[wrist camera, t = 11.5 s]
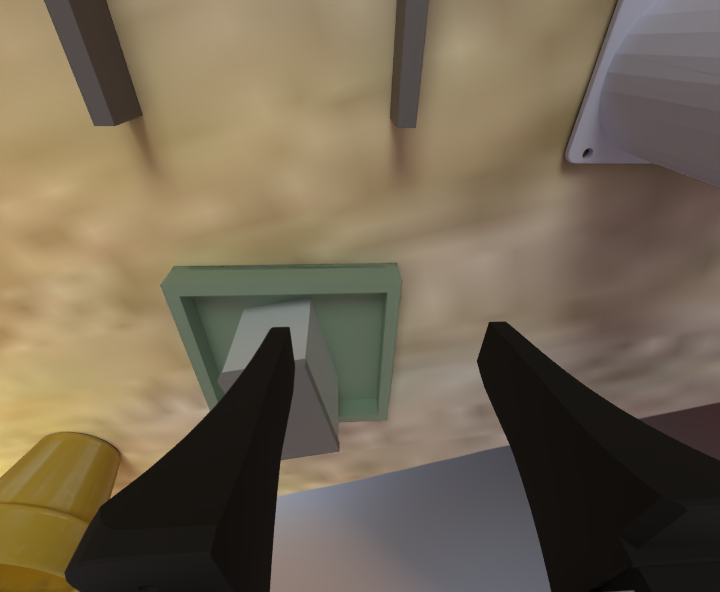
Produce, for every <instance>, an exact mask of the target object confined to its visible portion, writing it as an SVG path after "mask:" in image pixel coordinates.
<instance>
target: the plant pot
mask: <svg viewBox="0 0 720 592" xmlns="http://www.w3.org/2000/svg"><path fill="white" fill-rule="evenodd" d="M119 465H120V454H119V453H118V451H117V450H116V449H115V448H114V447H113V446H111V445H110V444H108V443H107V442H105V441H103V440H101V439H98V438H96V437H93V436H89V435H85V434H79V433H70V432H63V433H55V434H51V435H48V436H46V437H44V438H43V439H42V440H40V441H39V442H38V443H37V444H36V445H35V446H34V447H33V448H32V449H31V450H30V451H29V452H28V453H27V454H25V455H24V456H23V457H22V458H21V459H20V460H19V461H18V462H17V463H16V464H15V465H14V466H12V467H11V468H10V469H9V470H8V471H7V472H6V473H5V474H4V475H3V476H2V477H1V478H0V592H79V591H78V590H76V589H75V588H73V587H72V586H71V585H70V584H69V583H68V582H67V581H66V579H65V573H64V572H65V570H66V568H67V566H68V564H69V562H70V560H71V558H72V556H73V554H74V552H75V550H76V548H77V546H78V545H79V543H80V541H81V539H82V537H83V535H84V533H85V531H86V529H87V527H88V526H89V524H90V522H91V521H92V519H93V518H94V516H95V514H96V513H97V511H98V509H99V508H100V506H101V505H103V504H104V503H105V502H107V501H108V500H110V497H111V493H112V490H113V486H114V483H115V479H116V476H117V472H118V469H119Z"/></svg>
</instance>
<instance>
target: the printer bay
mask: <svg viewBox="0 0 720 592" xmlns="http://www.w3.org/2000/svg"><path fill="white" fill-rule="evenodd" d="M44 2H45V4H46V7H47V9H48V12H49V14H50V17H51V19H52V21H53V24H54V26H55V29H56V31H57V34H58V36H59V39H60V41H61V44H62V46H63V49H64V51H65V54H66V56H67V59H68V61H69V64H70V66H71V69H72V71H73V74H74V76H75V79H76V81H77V84H78V86H79V89H80V91H81V94H82V96H83V99H84V101H85V104H86V106H87V109H88V111H89V114H90V116H91V119H92V121H93V124H94V126H116V125H119V124H121V123H124V122H127V121H129V120H132V119H135V118H137V117H140V116H143V115H142V112H141V109H140V106H139V103H138V100H137V97H136V94H135V90H134V87H133V84H132V81H131V78H130V75H129V72H128V69H127V66H126V62H125V59H124V56H123V53H122V50H121V47H120V44H119V41H118V37H117V34H116V31H115V28H114V25H113V22H112V19H111V16H110V13H109V9H108V6H107V3H106V0H44ZM428 3H429V0H397V8H396V25H395V41H394V58H393V75H392V91H391V108H390V118H391V120H392V121H393V123H394V124H395V125H396V127H397V128H416V121H417V111H418V101H419V92H420V82H421V72H422V62H423V52H424V42H425V33H426V23H427V13H428Z"/></svg>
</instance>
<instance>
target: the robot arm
mask: <svg viewBox="0 0 720 592" xmlns="http://www.w3.org/2000/svg"><path fill="white" fill-rule="evenodd" d="M586 149H589V151H588V153H587V155H585V156H584V157H582V156H583V153H584V151H585V150H586ZM565 159H566V160H567V161H568V162H570V163H574V164H656V165H659V166H662V167H664V168H667V169H669V170H672V171H675V172H677V173H680V174H682V175H685V176H688V177H690V178H693V179H696V180H698V181H701V182H703V183H706V184H709V185H711V186H714V187H716V188H719V189H720V0H618V2H617V5H616V8H615V11H614V14H613V17H612V20H611V22H610V25H609V28H608V31H607V34H606V37H605V40H604V42H603V45H602V48H601V51H600V54H599V57H598V60H597V62H596V65H595V68H594V71H593V74H592V77H591V80H590V83H589V85H588V88H587V91H586V94H585V97H584V100H583V103H582V105H581V108H580V111H579V114H578V117H577V120H576V123H575V125H574V128H573V131H572V134H571V137H570V140H569V143H568V146H567V148H566V151H565ZM477 363H478V367H479V371H480V374H481V378H482V381H483V384H484V387H485V390H486V392H487V394H488V397H489V399H490V401H491V403H492V406H493V408H494V410H495V413H496V415H497V417H498V419H499V422H500V424H501V426H502V428H503V431H504V433H505V435H506V437H507V440H508V442H509V444H510V446H511V449H512V452H513V454H514V457H515V460H516V463H517V466H518V470H519V472H520V476H521V478H522V482H523V485H524V488H525V492H526V495H527V498H528V501H529V505H530V508H531V511H532V515H533V519H534V523H535V527H536V530H537V534H538V538H539V541H540V545H541V549H542V554H543V558H544V562H545V566H546V570H547V574H548V579H549V583H550V588H551V592H720V460H717V459H715V458H713V457H711V456H708V455H706V454H704V453H702V452H699V451H698V450H695V449H693V448H691V447H689V446H687V445H685V444H683V443H681V442H679V441H677V440H675V439H673V438H671V437H669V436H668V435H666V434H664V433H662V432H660V431H658V430H656V429H654V428H652V427H651V426H649V425H647V424H645V423H644V422H642V421H640V420H639V419H637V418H635V417H633V416H632V415H630V414H628V413H626V412H625V411H623V410H621V409H620V408H618V407H617V406H615V405H613V404H612V403H610V402H609V401H607V400H606V399H604V398H603V397H601V396H600V395H598V394H597V393H595V392H594V391H592V390H591V389H589V388H588V387H586V386H585V385H584V384H582V383H581V382H579V381H578V380H577V379H575V378H574V377H573V376H571V375H570V374H569V373H567V372H566V371H565V370H563V369H562V368H561V367H560V366H558V365H557V364H556V363H555V362H553V361H552V360H551V359H550V358H548V357H547V356H546V355H545V354H544V353H542V352H541V351H540V350H539V349H538V348H536V347H535V346H534V345H533V344H532V343H531V342H529V341H528V340H527V339H526V338H525V337H524V336H522V335H521V334H520V333H519V332H518V331H516V330H515V329H514V328H513V327H512V326H510V325H509V324H508V323H507V322H489V324H488V327H487V330H486V334H485V337H484V340H483V343H482V347H481V350H480V353H479V356H478V359H477ZM294 377H295V361H294V354H293V347H292V340H291V333H290V327H272V328H271V329H270V330H269V332H268V333H267V335H266V337H265V338H264V340H263V342H262V343H261V345H260V347H259V348H258V350H257V351H256V353H255V354H254V356H253V357H252V359H251V360H250V362H249V363H248V365H247V366H246V368H245V369H244V370H243V372H242V373H241V375H240V376H239V377H238V378H237V380H236V381H235V382H234V384H233V385H232V386H231V387H230V389H229V390H228V391H227V393H226V394H225V395H224V396H223V397H222V399H221V400H220V401H219V402H218V403H217V404H216V405H215V407H214V408H213V409H212V410H211V411H210V412H209V413H208V414H207V415H206V416H205V417H204V419H203V420H202V421H201V422H200V423H199V424H198V425H197V426H196V427H195V428H194V429H193V430H192V431H191V432H190V433H189V434H188V435H187V436H186V437H184V438H183V439H182V440H181V441H180V442H179V443H178V444H177V445H176V446H175V447H174V448H173V449H171V450H170V451H169V452H168V453H167V454H166V455H164V456H163V457H162V458H161V459H160V460H159V461H158V462H156V463H155V464H154V465H153V466H152V467H151V468H149V469H148V470H147V471H146V472H145V473H143V474H142V475H141V476H140V477H138V478H137V479H136V480H134V481H133V482H132V483H130V484H129V485H128V486H127V487H125V488H124V489H123V490H121V491H120V492H119V493H117V494H116V495H115V496H113V497H112V498H111V499H110V500H108V501H107V502H105V503H104V504H103V505H101V506H100V508H99V509H98V511H97V513H96V514H95V516H94V518H93V519H92V521H91V522H90V524H89V526H88V527H87V529H86V531H85V533H84V535H83V537H82V539H81V541H80V543H79V545H78V546H77V548H76V550H75V552H74V554H73V556H72V558H71V560H70V562H69V564H68V566H67V568H66V570H65V572H64V573H65V579H66V581H67V582H68V583H69V584H70V585H71V586H72V587H73V588H75V589H76V590H78V591H79V592H270V579H271V564H272V550H273V537H274V524H275V512H276V501H277V490H278V480H279V470H280V461H281V455H282V449H283V444H284V439H285V434H286V428H287V423H288V418H289V413H290V408H291V402H292V397H293V390H294Z"/></svg>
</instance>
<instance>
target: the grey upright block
mask: <svg viewBox="0 0 720 592" xmlns="http://www.w3.org/2000/svg"><path fill="white" fill-rule="evenodd" d="M272 327H290V333H291V340H292V347H293V354H294V361H295V377H294V390H293V397H292V402H291V408H290V413H289V418H288V423H287V428H286V434H285V439H284V444H283V449H282V455H281V460H285V459H292V458H299V457H305V456H312V455H318V454H325V453H332V452H338V451H339V440H338V376H337V373H336V370H335V367H334V364H333V361H332V358H331V355H330V352H329V349H328V346H327V343H326V340H325V337H324V334H323V331H322V328H321V325H320V322H319V319H318V316H317V313H316V310H315V307H314V304H313V301H312V298H311V297H309V298H304V299H298V300H293V301H287V302H282V303H276V304H271V305H265V306H260V307H254V308H248V309H244V311H243V313H242V316H241V319H240V322H239V325H238V328H237V331H236V334H235V336H234V339H233V342H232V345H231V348H230V351H229V354H228V357H227V359H226V362H225V365H224V368H223V371H222V373H220V375H219V378H218V381H217V383H218V384H219V386H220V387H221V389H222V390H223V392H224V393H225V394H226V393H227V391H228V390H229V389H230V387H231V386H232V385H233V384H234V382H235V381H236V380H237V378H238V377H239V376H240V375H241V373H242V372H243V370H244V369H245V368H246V366H247V365H248V363H249V362H250V360H251V359H252V357H253V356H254V354H255V353H256V351H257V350H258V348H259V347H260V345H261V343H262V342H263V340H264V338H265V337H266V335H267V333H268V332H269V330H270V329H271V328H272Z"/></svg>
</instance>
